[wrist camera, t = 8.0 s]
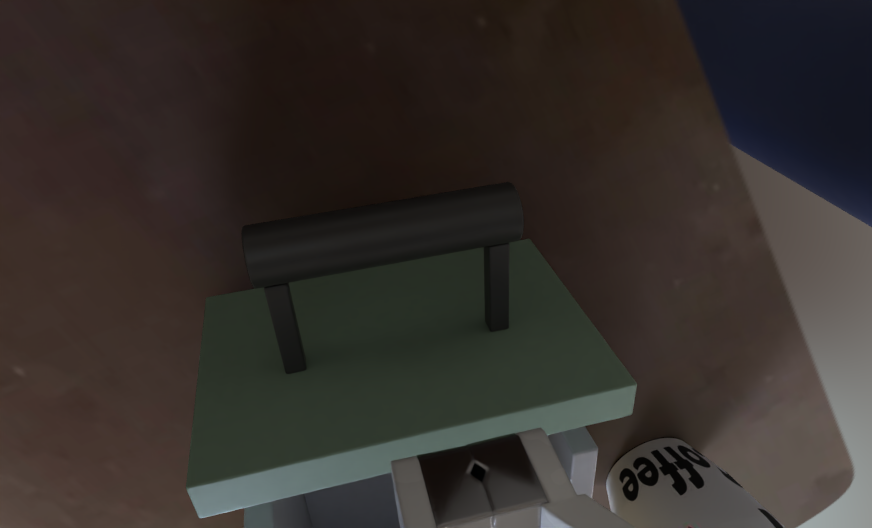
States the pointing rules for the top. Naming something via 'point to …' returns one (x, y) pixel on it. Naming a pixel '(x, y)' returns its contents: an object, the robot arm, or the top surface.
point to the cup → (680, 490)
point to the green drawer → (389, 358)
